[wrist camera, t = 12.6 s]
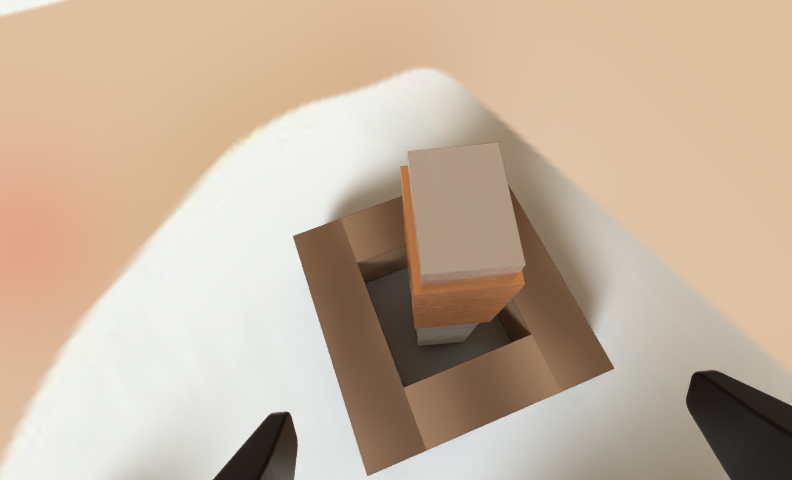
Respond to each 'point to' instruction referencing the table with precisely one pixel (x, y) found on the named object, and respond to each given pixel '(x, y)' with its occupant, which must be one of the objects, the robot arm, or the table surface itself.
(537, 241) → the block
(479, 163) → the banded grey brick
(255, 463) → the robot arm
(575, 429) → the table surface
